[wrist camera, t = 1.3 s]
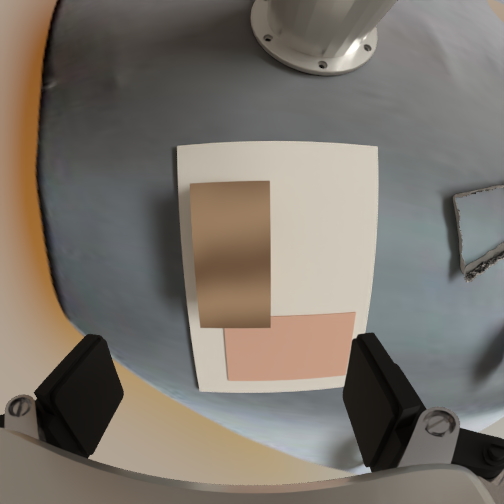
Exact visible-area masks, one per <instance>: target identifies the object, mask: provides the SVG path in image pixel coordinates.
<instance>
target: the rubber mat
mask: <svg viewBox="0 0 504 504" xmlns="http://www.w3.org/2000/svg"><path fill="white" fill-rule="evenodd" d="M177 168H178V196H179V216H180V232H181V246H182V258H183V270H184V280H185V290H186V299H187V308H188V316H189V324H190V332H191V339H192V346H193V353H194V359H195V366H196V372H197V378H198V384H199V390H200V391H204V392H231V393H264V392H290V391H306V390H318V389H328V388H337V387H344V384H345V379H346V374H347V368H348V363H349V357H350V350H351V344H352V340H353V339H354V338H357V335H358V334H364V333H365V331H366V325H367V318H368V312H369V305H370V298H371V290H372V282H373V272H374V262H375V251H376V237H377V218H378V147H375V146H365V145H354V144H341V143H325V142H298V141H250V142H224V143H207V144H194V145H182V146H177ZM231 181H270V225H271V328H200V320H199V311H198V301H197V291H196V280H195V268H194V255H193V240H192V224H191V204H190V183H208V182H231Z"/></svg>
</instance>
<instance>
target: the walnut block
mask: <svg viewBox="0 0 504 504" xmlns="http://www.w3.org/2000/svg"><path fill="white" fill-rule="evenodd" d="M190 204H191V224H192V240H193V255H194V268H195V280H196V291H197V301H198V311H199V320H200V328H271V225H270V181H231V182H208V183H190Z"/></svg>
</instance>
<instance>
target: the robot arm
mask: <svg viewBox="0 0 504 504" xmlns="http://www.w3.org/2000/svg"><path fill="white" fill-rule="evenodd" d="M397 1H398V0H255V2H254V4H253V6H252V9H251V27H252V30H253V34H254V36H255V37H256V39H257V41H258V43H259V44H260V45H261V46H262V47H263V49H264V50H265V51H266V52H267V53H269V54H270V55H271V56H272V57H274V58H275V59H276V60H278V61H280V62H281V63H283V64H285V65H286V66H289V67H291V68H294V69H296V70H298V71H302V72H306V73H310V74H316V75H324V76H328V75H341V74H346V73H349V72H352V71H354V70H357V69H358V68H360V67H361V66H363V65H364V64H365V63H366V62H367V61H368V60H369V59H370V58H371V57H372V55H373V54H374V52H375V50H376V46H377V43H378V33H377V29H376V25H377V24H378V23H379V22H380V20H381V19H382V18H383V17H384V16H385V14H386V13H387V12H388V11H389V10H390V9H391V7H392V6H393V5H394V4H395V3H396V2H397ZM267 40H268V41H269V42H268V41H267ZM319 66H321V67H323V69H322V68H320V67H319ZM123 392H124V391H123V388H122V386H121V383H120V380H119V377H118V375H117V372H116V369H115V366H114V363H113V360H112V357H111V354H110V351H109V348H108V345H107V342H106V340H104V339H103V338H102V336H100V335H93V334H87V335H86V336H85V337H84V338H83V339H82V340H81V341H80V342H79V343H78V344H77V345H76V346H75V348H74V349H73V350H72V351H71V352H70V353H69V354H68V355H67V356H66V357H65V358H64V359H63V360H62V361H61V363H60V364H59V365H58V366H57V367H56V368H55V369H54V370H53V371H52V373H51V374H50V375H49V376H48V377H47V378H46V379H45V380H44V381H43V383H42V384H41V385H40V386H39V387H38V388H37V389H36V391H35V392H34V394H35V395H36V397H37V399H36V401H35V400H34V399H33V398H32V397H31V396H29V395H18V396H16V397H14V398H12V399H11V400H10V401H9V402H8V403H7V405H6V408H5V414H3V415H0V504H504V439H502V438H498V437H494V436H490V435H486V434H481V433H477V432H474V431H470V430H466V429H462V428H460V421H459V418H458V416H457V415H456V414H455V413H454V412H453V411H451V410H450V409H447V408H444V407H432V408H429V409H426V408H425V406H424V404H423V403H422V401H421V400H420V398H419V396H418V395H417V393H416V392H415V390H414V389H413V387H412V386H411V384H410V382H409V381H408V379H407V378H406V376H405V375H404V373H403V372H402V370H401V369H400V367H399V366H398V365H397V364H395V363H394V362H393V361H392V359H391V358H390V356H389V355H388V353H387V352H386V350H385V349H384V347H383V346H382V344H381V343H380V341H379V340H378V338H377V337H376V335H375V334H374V333H364V334H358V335H357V338H354V339H353V340H352V344H351V350H350V357H349V363H348V368H347V374H346V379H345V384H344V389H343V401H344V404H345V407H346V410H347V413H348V416H349V419H350V421H351V424H352V427H353V431H354V434H355V437H356V440H357V443H358V446H359V449H360V452H361V455H362V458H363V462H364V464H365V466H366V467H370V469H371V472H372V473H366V474H362V475H356V476H351V477H345V478H340V479H333V480H326V481H317V482H308V483H298V484H285V485H254V486H252V485H247V486H245V485H221V484H207V483H197V482H188V481H180V480H174V479H167V478H161V477H156V476H150V475H146V474H141V473H137V472H132V471H128V470H124V469H120V468H116V467H113V466H110V465H106V464H102V463H99V462H96V461H93V460H90V459H88V457H89V456H90V455H92V454H93V453H94V451H95V449H96V447H97V445H98V444H99V442H100V440H101V438H102V436H103V434H104V432H105V430H106V428H107V426H108V424H109V423H110V421H111V419H112V417H113V415H114V413H115V411H116V410H117V408H118V406H119V404H120V402H121V400H122V398H123V395H124V393H123Z"/></svg>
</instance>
